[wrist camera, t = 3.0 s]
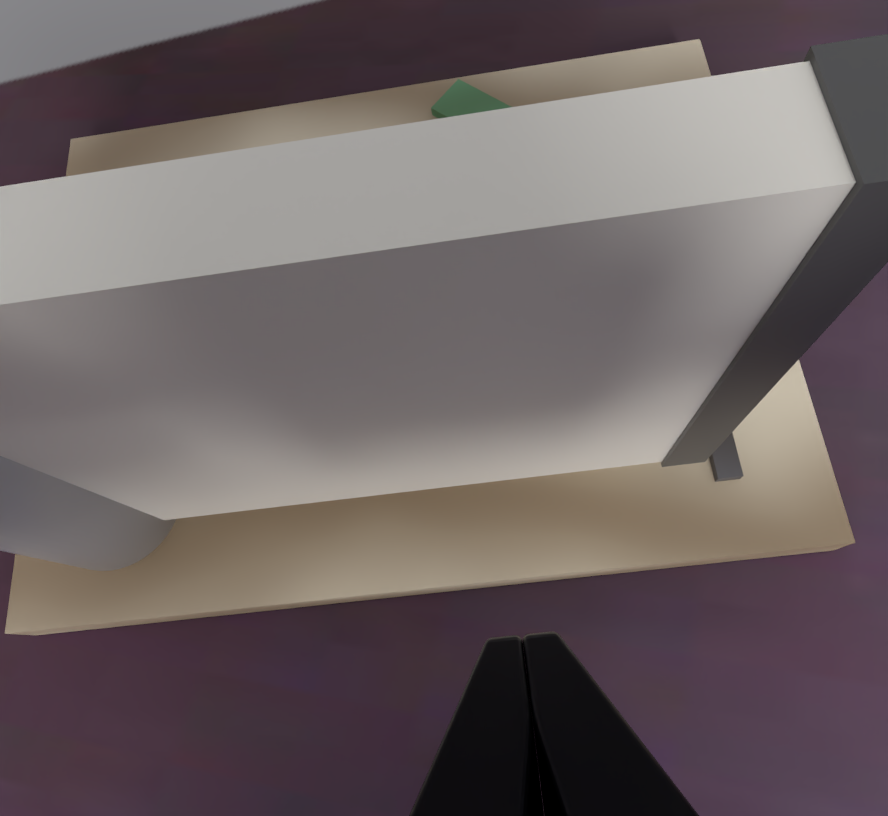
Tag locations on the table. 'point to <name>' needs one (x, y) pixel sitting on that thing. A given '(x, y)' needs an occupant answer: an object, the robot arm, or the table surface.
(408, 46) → the table surface
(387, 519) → the board
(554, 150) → the white panel grey edge
